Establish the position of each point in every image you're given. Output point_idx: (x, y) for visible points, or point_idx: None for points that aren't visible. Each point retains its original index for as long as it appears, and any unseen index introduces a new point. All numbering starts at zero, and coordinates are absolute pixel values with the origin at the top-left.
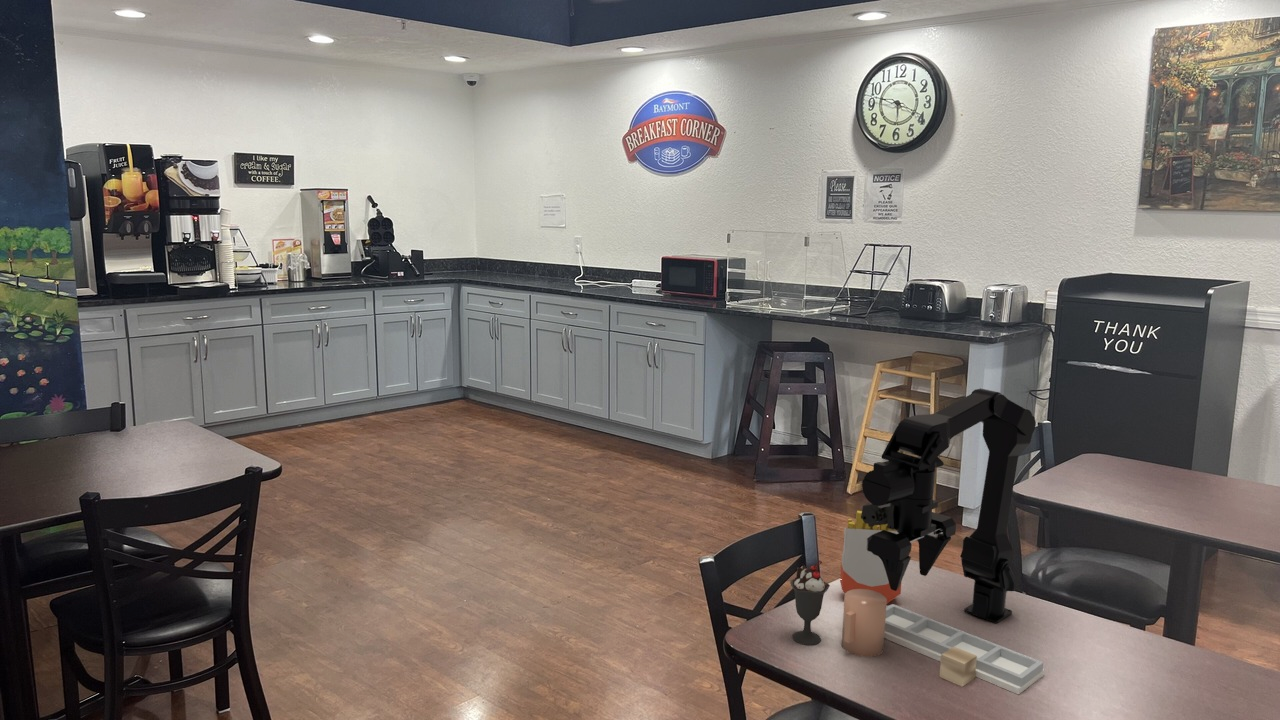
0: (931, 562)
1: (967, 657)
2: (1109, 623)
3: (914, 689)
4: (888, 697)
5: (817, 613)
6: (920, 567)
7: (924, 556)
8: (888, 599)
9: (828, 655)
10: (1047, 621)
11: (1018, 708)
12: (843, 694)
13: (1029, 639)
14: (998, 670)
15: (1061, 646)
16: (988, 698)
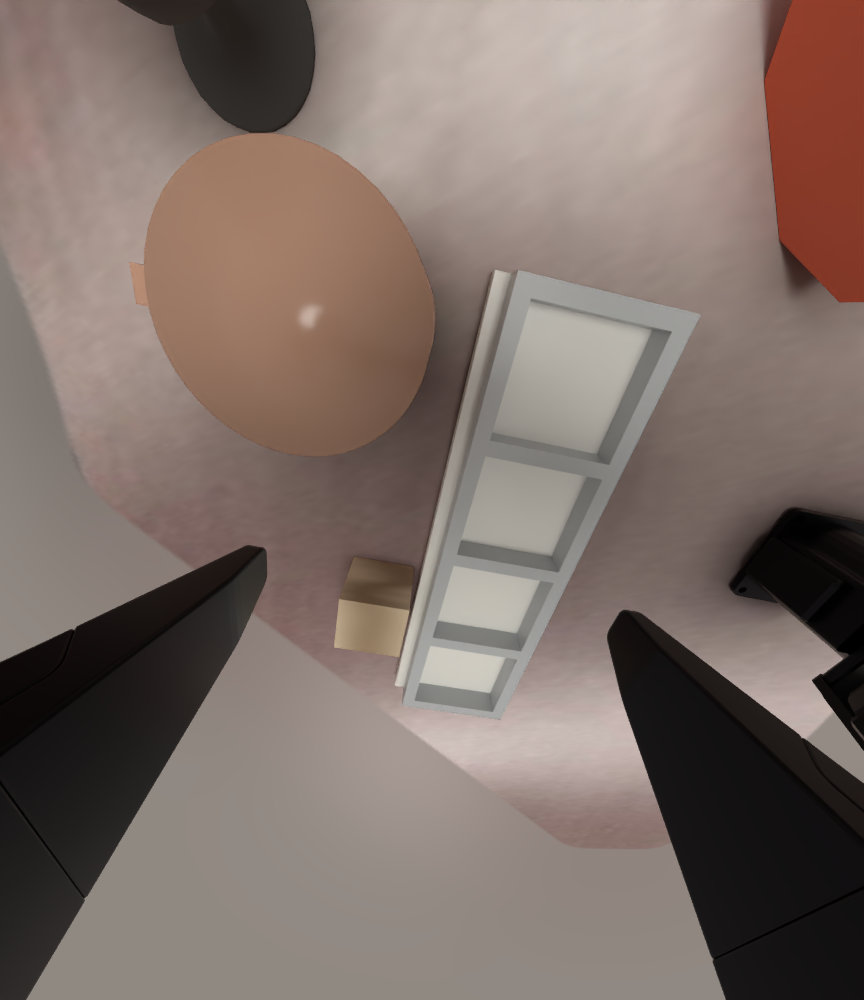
0: (648, 771)
1: (372, 645)
2: (807, 733)
3: (252, 531)
4: (164, 497)
5: (136, 9)
6: (646, 650)
7: (711, 769)
8: (806, 249)
9: None
10: (783, 661)
11: (347, 680)
12: (60, 397)
13: None
14: (410, 669)
15: None
16: None
